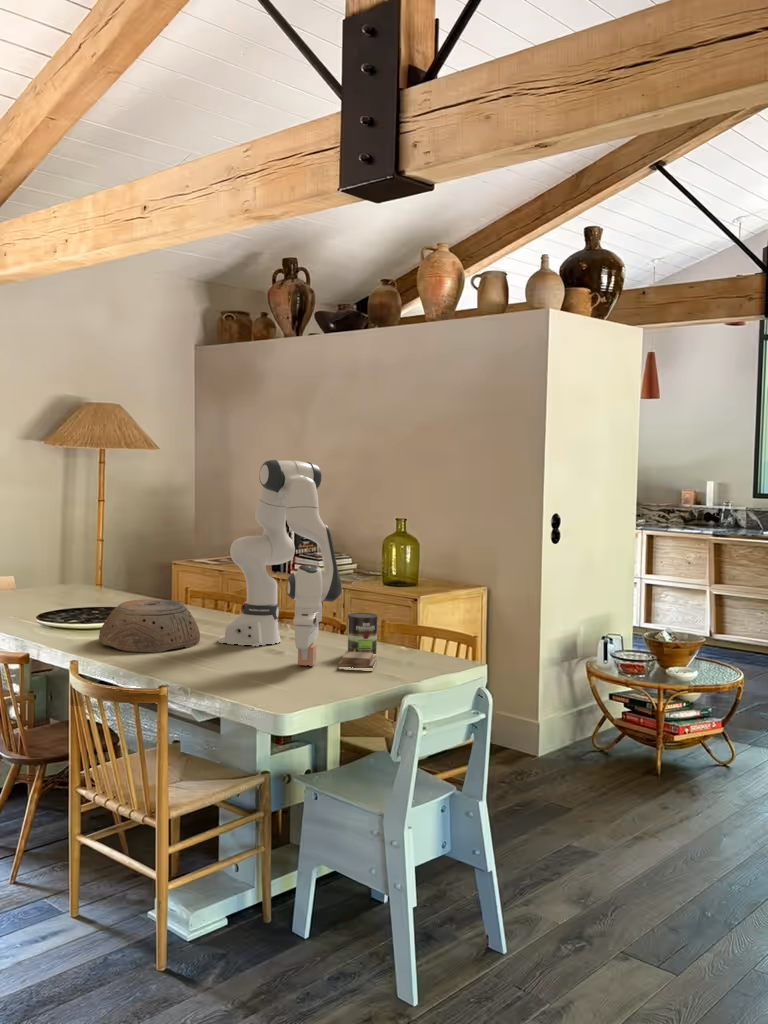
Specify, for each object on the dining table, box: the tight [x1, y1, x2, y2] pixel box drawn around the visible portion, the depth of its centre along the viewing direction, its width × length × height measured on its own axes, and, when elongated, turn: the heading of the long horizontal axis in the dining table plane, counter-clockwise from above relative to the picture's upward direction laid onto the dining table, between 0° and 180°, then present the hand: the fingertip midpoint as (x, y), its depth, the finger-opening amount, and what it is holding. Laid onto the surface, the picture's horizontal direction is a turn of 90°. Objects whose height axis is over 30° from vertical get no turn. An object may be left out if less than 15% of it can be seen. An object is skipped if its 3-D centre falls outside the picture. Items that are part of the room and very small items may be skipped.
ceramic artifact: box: [98, 598, 201, 653], centre depth 331 cm, size 35×36×15 cm
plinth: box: [337, 651, 377, 668], centre depth 301 cm, size 11×11×4 cm
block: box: [297, 643, 317, 667], centre depth 301 cm, size 5×5×6 cm
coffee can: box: [347, 612, 379, 655], centre depth 319 cm, size 10×10×14 cm
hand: (307, 657), depth 301 cm, fingers closed on block, 5 cm apart
